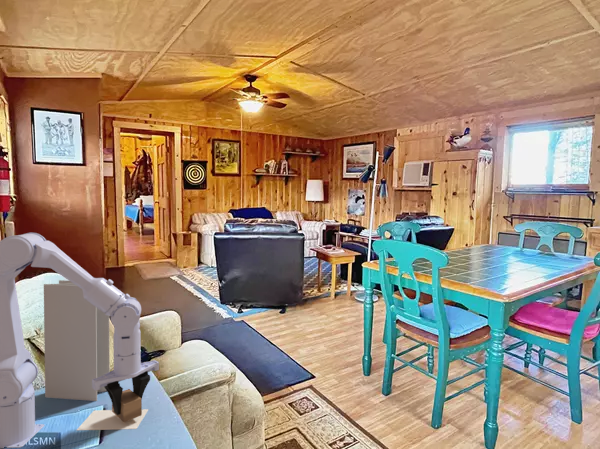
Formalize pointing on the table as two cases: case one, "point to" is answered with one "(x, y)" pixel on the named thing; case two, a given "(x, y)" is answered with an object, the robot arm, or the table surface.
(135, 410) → the walnut block
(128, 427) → the beige board
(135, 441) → the table surface
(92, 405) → the table surface
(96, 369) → the tall grey box
